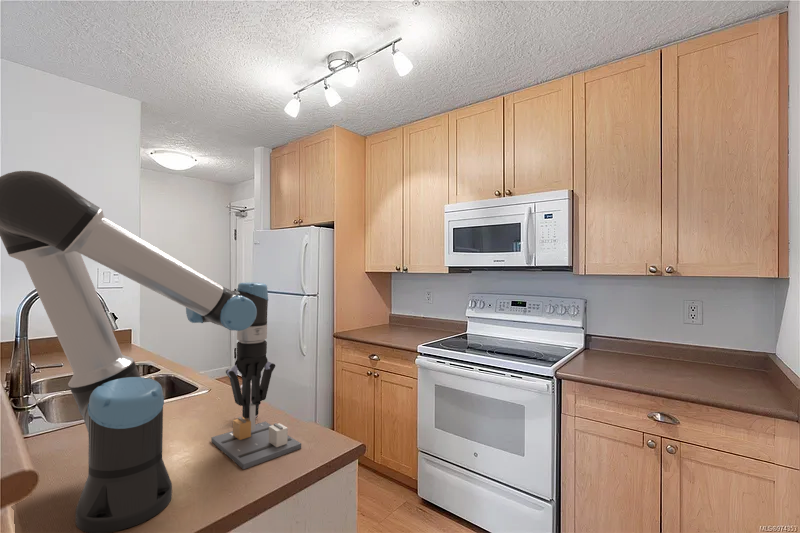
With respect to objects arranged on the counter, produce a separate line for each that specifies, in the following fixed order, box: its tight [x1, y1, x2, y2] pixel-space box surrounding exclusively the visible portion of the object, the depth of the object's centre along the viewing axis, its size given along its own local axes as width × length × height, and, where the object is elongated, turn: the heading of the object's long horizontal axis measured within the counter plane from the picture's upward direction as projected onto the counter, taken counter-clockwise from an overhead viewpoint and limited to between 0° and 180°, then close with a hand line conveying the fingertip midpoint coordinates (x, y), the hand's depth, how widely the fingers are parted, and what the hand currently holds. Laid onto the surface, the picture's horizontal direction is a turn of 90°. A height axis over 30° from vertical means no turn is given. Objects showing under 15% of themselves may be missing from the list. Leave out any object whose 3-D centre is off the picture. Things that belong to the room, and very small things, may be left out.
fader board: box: [210, 421, 302, 470], centre depth 102 cm, size 15×19×1 cm
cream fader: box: [269, 422, 289, 447], centre depth 101 cm, size 3×4×4 cm
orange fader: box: [232, 416, 251, 440], centre depth 104 cm, size 3×4×4 cm
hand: (250, 428), depth 106 cm, fingers closed
